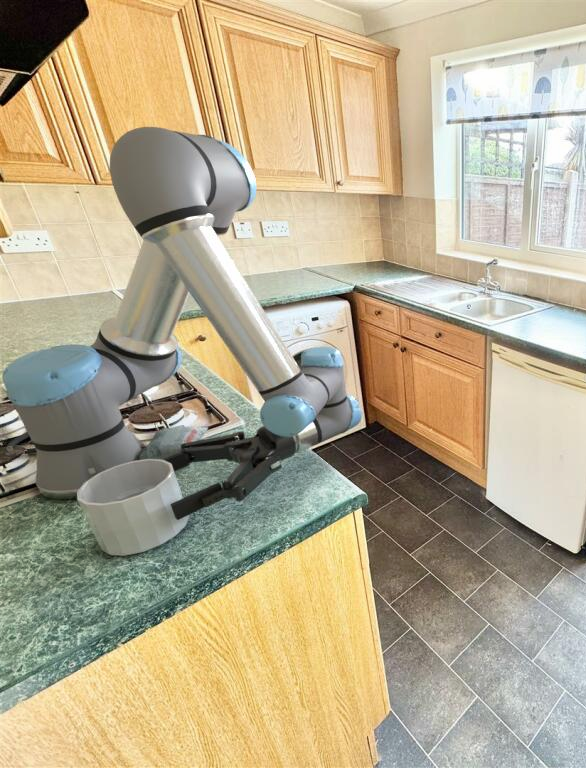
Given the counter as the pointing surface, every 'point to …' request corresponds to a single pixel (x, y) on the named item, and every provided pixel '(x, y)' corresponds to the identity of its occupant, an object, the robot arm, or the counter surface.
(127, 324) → the robot arm
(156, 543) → the grey faceted pot
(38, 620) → the counter surface
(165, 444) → the packaged food
